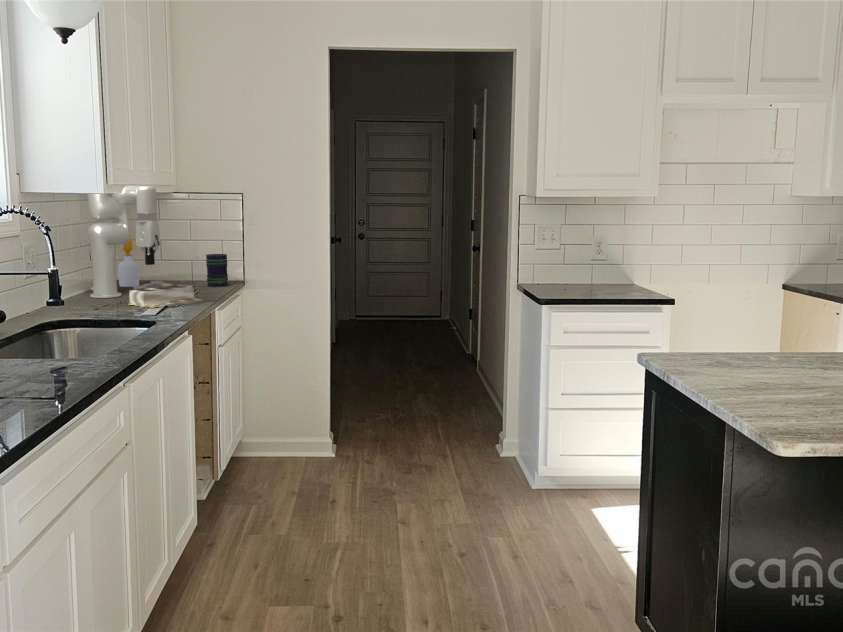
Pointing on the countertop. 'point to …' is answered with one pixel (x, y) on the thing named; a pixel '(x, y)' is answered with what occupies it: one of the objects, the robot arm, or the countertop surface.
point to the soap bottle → (128, 268)
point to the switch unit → (163, 296)
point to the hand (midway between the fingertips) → (150, 264)
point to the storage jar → (217, 270)
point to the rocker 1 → (144, 286)
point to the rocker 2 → (179, 282)
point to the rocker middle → (162, 284)
